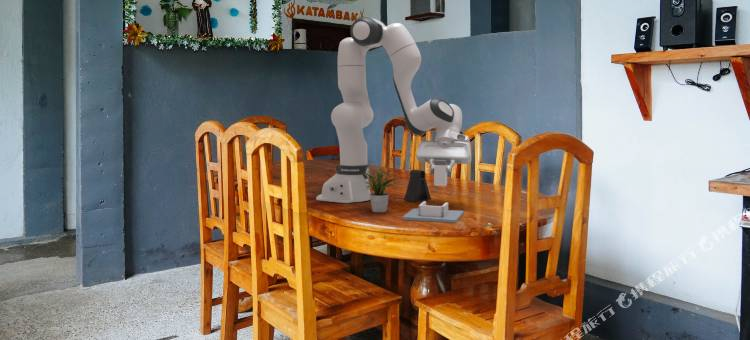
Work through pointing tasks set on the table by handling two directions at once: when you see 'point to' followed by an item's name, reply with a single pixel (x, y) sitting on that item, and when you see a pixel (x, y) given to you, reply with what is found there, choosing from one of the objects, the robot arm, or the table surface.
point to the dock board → (433, 214)
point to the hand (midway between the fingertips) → (440, 170)
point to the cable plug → (440, 172)
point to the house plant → (379, 191)
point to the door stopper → (417, 187)
